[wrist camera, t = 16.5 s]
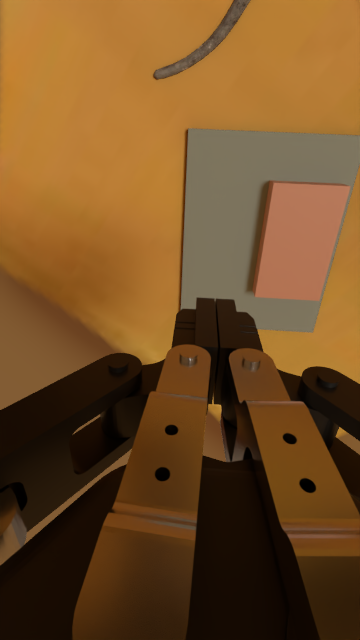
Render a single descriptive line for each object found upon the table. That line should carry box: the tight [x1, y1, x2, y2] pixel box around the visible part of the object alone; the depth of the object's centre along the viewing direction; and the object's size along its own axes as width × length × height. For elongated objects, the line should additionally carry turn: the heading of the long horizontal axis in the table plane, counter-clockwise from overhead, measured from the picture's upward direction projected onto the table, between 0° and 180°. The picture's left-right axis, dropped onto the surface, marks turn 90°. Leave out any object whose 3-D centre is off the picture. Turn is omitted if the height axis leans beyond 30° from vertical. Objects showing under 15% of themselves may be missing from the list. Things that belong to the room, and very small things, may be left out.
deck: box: [252, 180, 351, 301], centre depth 29 cm, size 10×2×6 cm
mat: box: [181, 129, 360, 332], centre depth 30 cm, size 18×14×1 cm
